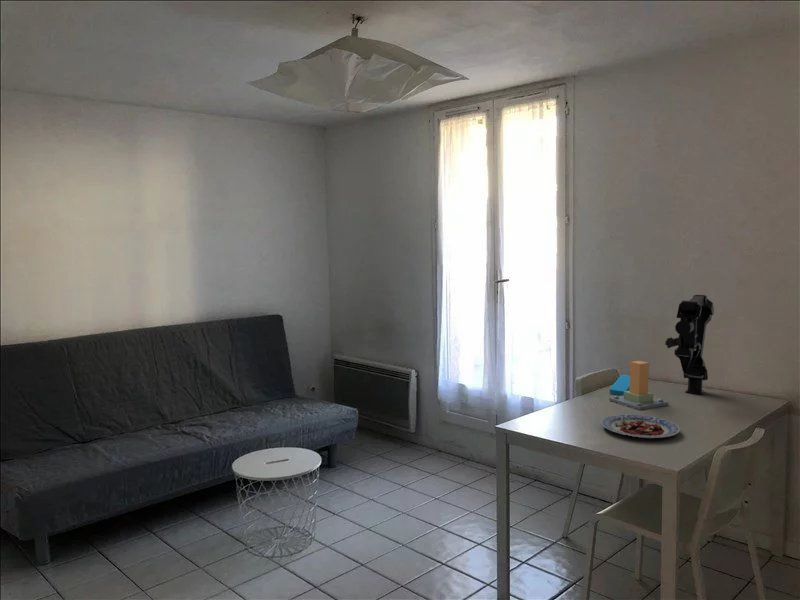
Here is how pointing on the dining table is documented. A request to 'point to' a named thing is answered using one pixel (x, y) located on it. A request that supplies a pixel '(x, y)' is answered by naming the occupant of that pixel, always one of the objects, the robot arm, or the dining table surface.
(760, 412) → the dining table surface
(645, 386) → the orange brick
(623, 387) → the blue long block
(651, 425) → the ceramic plate
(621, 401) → the tower base
